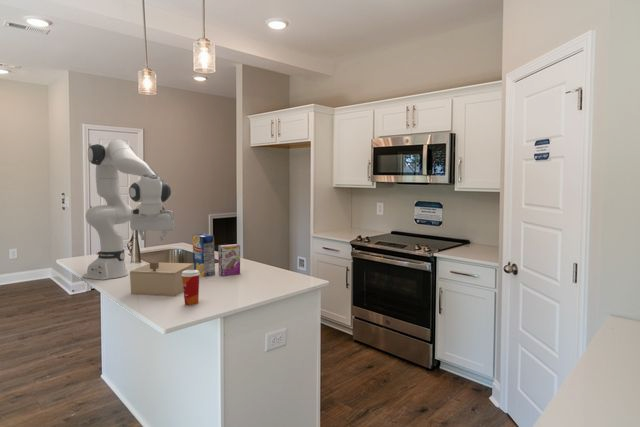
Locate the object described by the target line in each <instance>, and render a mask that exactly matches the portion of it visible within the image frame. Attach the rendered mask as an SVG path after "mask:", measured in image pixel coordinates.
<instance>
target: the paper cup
mask: <svg viewBox="0 0 640 427" xmlns="http://www.w3.org/2000/svg"><path fill="white" fill-rule="evenodd" d="M199 275H200V273H199V271H198V270H186V271H183V272H182V275H181V276H182V280H183V300H184V305H186V306H195V305H197V304H199V292H200V276H199Z"/></svg>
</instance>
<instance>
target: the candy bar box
mask: <svg viewBox="0 0 640 427" xmlns="http://www.w3.org/2000/svg"><path fill="white" fill-rule="evenodd" d="M217 248H218V252H217V254H218V275H219V276H221V277H226V276H233V275H240V274H241V245H240V244H237V243H235V244H223V245H222V244H221V245H218V247H217Z"/></svg>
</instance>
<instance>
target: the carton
mask: <svg viewBox="0 0 640 427" xmlns="http://www.w3.org/2000/svg"><path fill="white" fill-rule="evenodd" d="M186 270H194V265H193V266H191V267H189V268H187V269H185V270H183V271H186ZM183 271H181V272H179V273H177V274H149V273H130V272H129V277H130V278H129V279H130V280H129V282H130V294H131V295H139V296H140V295H141V296H145V295H146V296H163V297H164V296H167V297H177V296H178V295H180V294H181V293H182V292H183V293H184V291H183V280H182V276H181V275H182V272H183Z"/></svg>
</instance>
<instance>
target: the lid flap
mask: <svg viewBox="0 0 640 427" xmlns="http://www.w3.org/2000/svg"><path fill="white" fill-rule="evenodd" d="M193 265H194V264H193V262H192V263H189V262H188V263H187V262H157V261H151V262H149V263H148V264H145V265H143V266H140V267H138V268H135V269H132V270H130V271H129V274H130V273H149V274H177V273H179V272H181V271H183V270H185V269H187V268H189V267H191V266H193Z"/></svg>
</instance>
